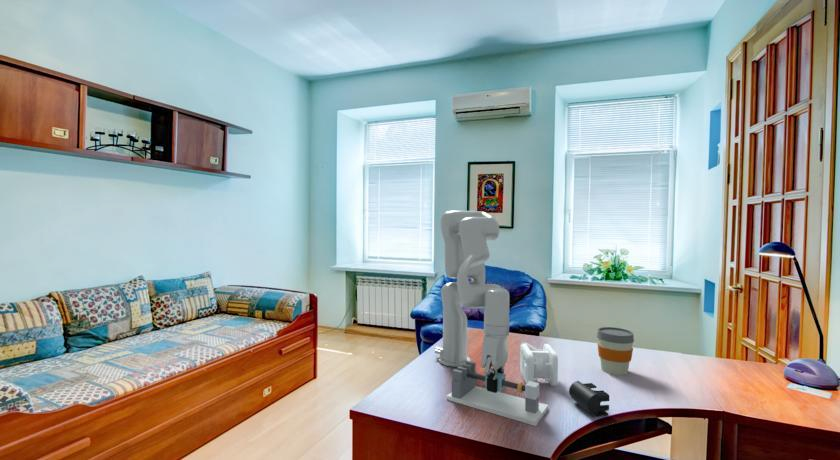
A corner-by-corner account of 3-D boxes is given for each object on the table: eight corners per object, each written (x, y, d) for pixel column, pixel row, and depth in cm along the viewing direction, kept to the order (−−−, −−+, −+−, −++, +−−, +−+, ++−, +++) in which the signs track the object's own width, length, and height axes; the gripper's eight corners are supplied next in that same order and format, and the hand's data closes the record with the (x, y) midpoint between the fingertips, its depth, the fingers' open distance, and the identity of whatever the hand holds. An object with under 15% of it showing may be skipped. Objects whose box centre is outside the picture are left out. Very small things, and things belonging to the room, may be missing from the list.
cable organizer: (558, 391, 131) (559, 356, 131) (526, 389, 132) (526, 355, 131) (547, 373, 146) (548, 342, 146) (518, 372, 147) (518, 341, 146)
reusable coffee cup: (596, 373, 146) (597, 333, 146) (595, 362, 158) (596, 325, 158) (635, 379, 142) (636, 337, 141) (631, 367, 153) (632, 329, 153)
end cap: (568, 402, 123) (568, 381, 122) (589, 401, 124) (589, 379, 124) (587, 418, 113) (588, 395, 113) (610, 416, 114) (610, 393, 114)
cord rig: (446, 399, 123) (446, 370, 123) (464, 386, 133) (464, 359, 133) (535, 426, 108) (536, 392, 108) (548, 409, 118) (548, 378, 118)
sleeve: (484, 387, 121) (485, 374, 120) (490, 383, 124) (490, 370, 124) (500, 391, 118) (500, 378, 118) (505, 387, 121) (505, 374, 121)
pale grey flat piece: (567, 361, 161) (567, 358, 161) (515, 367, 155) (515, 364, 155) (533, 342, 185) (533, 340, 185) (487, 347, 179) (487, 345, 179)
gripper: (495, 321, 129) (494, 377, 130) (472, 333, 116) (471, 395, 116) (517, 325, 125) (516, 382, 126) (497, 337, 111) (495, 402, 112)
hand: (495, 388), depth 121 cm, fingers closed on sleeve, 4 cm apart
